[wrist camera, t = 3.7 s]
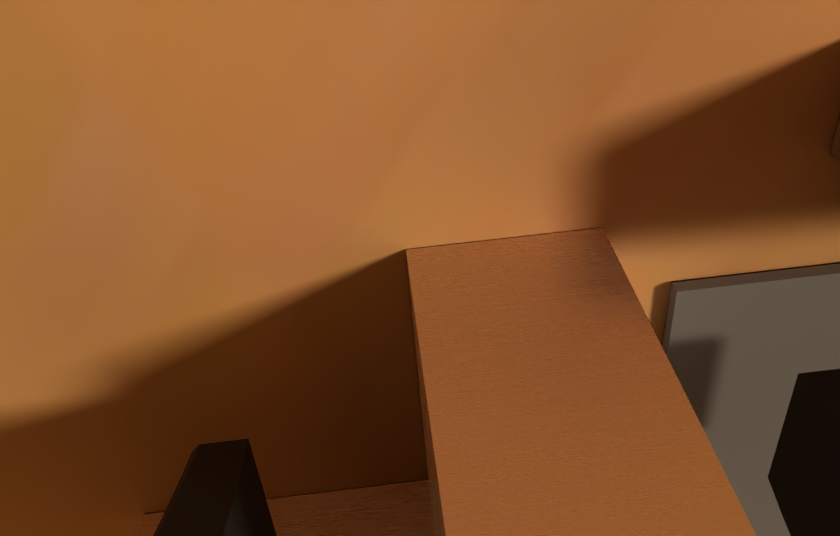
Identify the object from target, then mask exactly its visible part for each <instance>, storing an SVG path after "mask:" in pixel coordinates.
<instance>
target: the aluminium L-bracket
mask: <svg viewBox="0 0 840 536" xmlns="http://www.w3.org/2000/svg"><path fill="white" fill-rule="evenodd" d="M406 256H407V266H408V276H409V286H410V297H411V307H412V317H413V327H414V337H415V347H416V357H417V368H418V378H419V388H420V398H421V408H422V418H423V428H424V439H425V449H426V459H427V469H428V479H429V480H422V481H414V482H406V483H397V484H389V485H381V486H373V487H365V488H356V489H348V490H340V491H332V492H324V493H315V494H307V495H299V496H291V497H283V498H274V499H266V501H267V504H268V508H269V511H270V514H271V518H272V521H273V525H274V528H275V531H276V535H277V536H756V534H755V532H754V530H753V528H752V526H751V524H750V522H749V520H748V518H747V516H746V514H745V512H744V510H743V508H742V506H741V504H740V502H739V500H738V498H737V496H736V494H735V492H734V490H733V488H732V486H731V484H730V482H729V480H728V478H727V476H726V474H725V472H724V470H723V468H722V466H721V464H720V462H719V460H718V458H717V456H716V454H715V452H714V450H713V448H712V446H711V444H710V442H709V440H708V438H707V436H706V434H705V432H704V430H703V428H702V426H701V424H700V422H699V420H698V418H697V416H696V414H695V412H694V410H693V408H692V406H691V404H690V402H689V400H688V398H687V396H686V394H685V392H684V390H683V388H682V386H681V384H680V382H679V380H678V378H677V376H676V374H675V372H674V370H673V368H672V366H671V364H670V362H669V360H668V358H667V356H666V354H665V352H664V350H663V348H662V346H661V344H660V342H659V340H658V338H657V336H656V334H655V332H654V330H653V328H652V326H651V324H650V322H649V320H648V318H647V316H646V314H645V312H644V310H643V308H642V306H641V304H640V302H639V300H638V298H637V296H636V294H635V292H634V290H633V288H632V286H631V284H630V282H629V280H628V278H627V276H626V274H625V272H624V270H623V268H622V265H621V263H620V261H619V259H618V257H617V255H616V253H615V251H614V249H613V247H612V245H611V243H610V241H609V239H608V237H607V235H606V233H605V231H604V229H603V228H595V229H586V230H577V231H568V232H560V233H551V234H542V235H533V236H524V237H515V238H506V239H497V240H488V241H479V242H470V243H461V244H452V245H443V246H435V247H426V248H417V249H408V250H406ZM164 513H165V512H159V513H151V514H144V515H143V520H142V525H141V529H140V534H139V536H153V535H154V533H155V531H156V529H157V527H158V525H159V523H160V521H161V519H162V517H163V515H164Z"/></svg>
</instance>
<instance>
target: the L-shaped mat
mask: <svg viewBox="0 0 840 536" xmlns="http://www.w3.org/2000/svg"><path fill="white" fill-rule="evenodd" d="M662 348H663V350H664V352H665V354H666V356H667V358H668V360H669V362H670V364H671V366H672V368H673V370H674V372H675V374H676V376H677V378H678V380H679V382H680V384H681V386H682V388H683V390H684V392H685V394H686V396H687V398H688V400H689V402H690V404H691V406H692V408H693V410H694V412H695V414H696V416H697V418H698V420H699V422H700V424H701V426H702V428H703V430H704V432H705V434H706V436H707V438H708V440H709V442H710V444H711V446H712V448H713V450H714V452H715V454H716V456H717V458H718V460H719V462H720V464H721V466H722V468H723V470H724V472H725V474H726V476H727V478H728V480H729V482H730V484H731V486H732V488H733V490H734V492H735V494H736V496H737V498H738V500H739V502H740V504H741V506H742V508H743V510H744V512H745V514H746V516H747V518H748V520H749V522H750V524H751V526H752V528H753V530H754V532H755V534H756V536H791V535H790V533H789V531H788V528H787V526H786V523H785V521H784V519H783V516H782V513H781V511H780V508H779V506H778V503H777V500H776V498H775V495H774V492H773V490H772V487H771V485H770V482H769V479H768V474H769V471H770V468H771V464H772V461H773V457H774V454H775V451H776V447H777V444H778V440H779V437H780V434H781V430H782V427H783V423H784V420H785V417H786V413H787V410H788V406H789V403H790V400H791V396H792V393H793V389H794V386H795V383H796V379H797V376H798V373H807V372H815V371H823V370H832V369H840V263H839V264H830V265H821V266H813V267H804V268H795V269H786V270H778V271H769V272H760V273H751V274H743V275H734V276H725V277H716V278H708V279H699V280H690V281H681V282H673V283H672V284H671V291H670V298H669V305H668V311H667V318H666V325H665V331H664V338H663V345H662Z"/></svg>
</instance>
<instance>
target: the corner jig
mask: <svg viewBox="0 0 840 536" xmlns="http://www.w3.org/2000/svg"><path fill="white" fill-rule="evenodd" d="M830 153H831V154H832V155H833V156H834V157H835V158H836V159H837V160H838V161H839V162H840V118H839V122H838V126H837V130H836V133H835V137H834V141H833V145H832V148H831V152H830Z"/></svg>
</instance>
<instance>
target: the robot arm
mask: <svg viewBox="0 0 840 536" xmlns="http://www.w3.org/2000/svg"><path fill="white" fill-rule="evenodd" d="M768 479H769V482H770V485H771V487H772V490H773V492H774V495H775V498H776V500H777V503H778V506H779V508H780V511H781V513H782V516H783V519H784V521H785V523H786V526H787V528H788V531H789V533H790V535H791V536H840V369H832V370H823V371H815V372H807V373H798V376H797V379H796V383H795V386H794V389H793V393H792V396H791V400H790V403H789V406H788V410H787V413H786V417H785V420H784V423H783V427H782V430H781V434H780V437H779V440H778V444H777V447H776V451H775V454H774V457H773V461H772V464H771V468H770V471H769V474H768ZM153 536H277V535H276V531H275V528H274V525H273V521H272V518H271V514H270V511H269V508H268V504H267V501H266V497H265V494H264V491H263V487H262V484H261V480H260V477H259V474H258V470H257V467H256V464H255V460H254V457H253V453H252V450H251V447H250V443H249V440H248V439H242V440H234V441H225V442H217V443H208V444H200V445H199V446H198V447H197V448H196V449H195V450H194V451H193V452H192V454H191V456H190V459H189V461H188V463H187V465H186V468H185V470H184V472H183V474H182V477H181V479H180V481H179V483H178V485H177V487H176V490H175V492H174V494H173V496H172V498H171V500H170V502H169V504H168V507H167V509H166V511H165V513H164V515H163V517H162V519H161V521H160V523H159V525H158V527H157V529H156V531H155V533H154V535H153Z"/></svg>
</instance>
